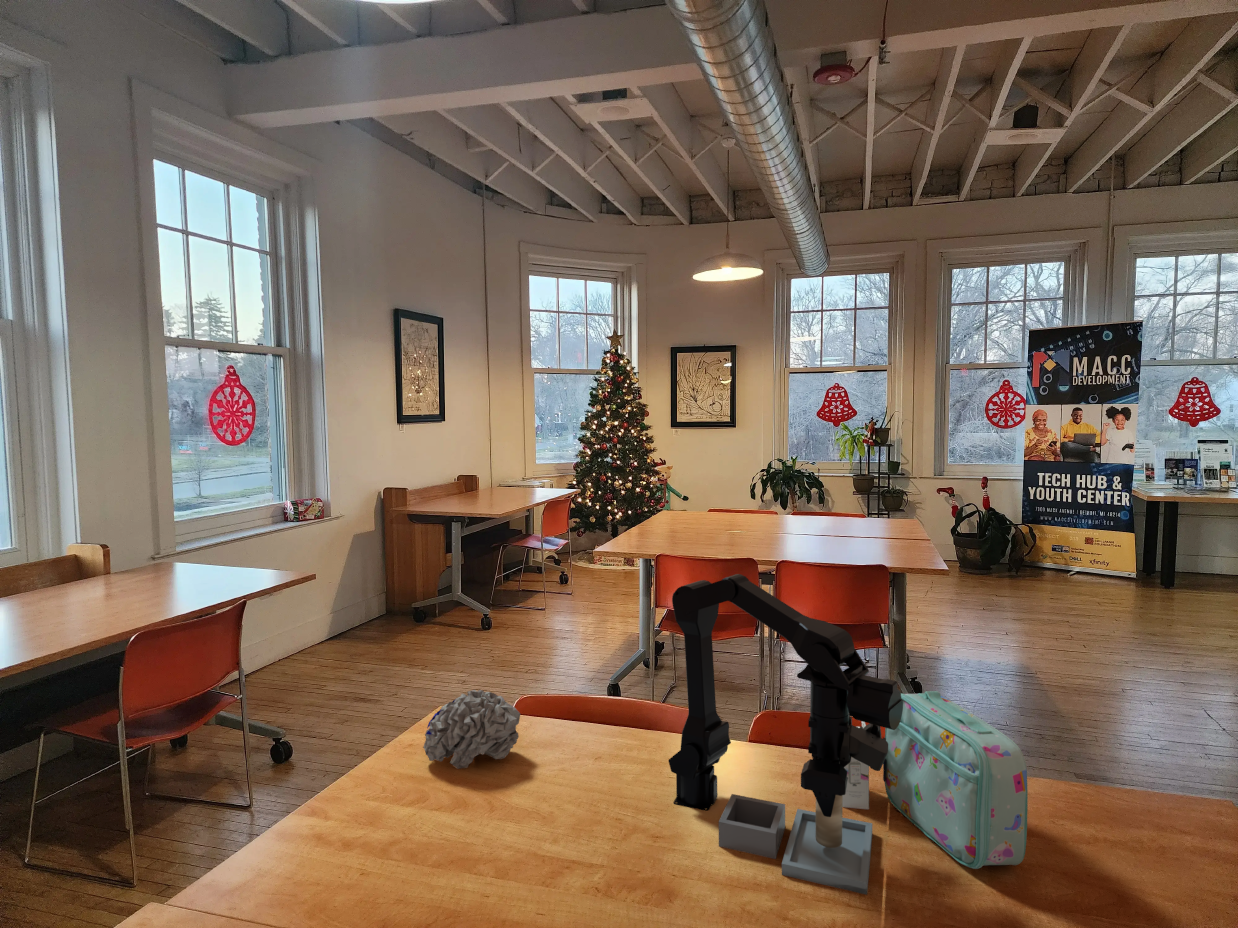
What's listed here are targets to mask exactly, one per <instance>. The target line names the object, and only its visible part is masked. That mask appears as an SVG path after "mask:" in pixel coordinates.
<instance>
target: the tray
mask: <svg viewBox="0 0 1238 928" xmlns="http://www.w3.org/2000/svg"><path fill="white" fill-rule="evenodd" d="M795 813H796V814H795V815H794V816H795V817H794V820H793V822H792V826H791V830H790V834H789V838H788V840H787V844H786V848H785V851H784V854H783V858H782V862H781V876H784V877H785V876H786V877H789V878H793V879H798V880H802V881H807V882H811V883H815V884H819V885H823V886H828V887H831V888H836V889H840V890H845V891H850V892H853V893H858V894H861V895H866V896H868V889H869V888H868V886H869V876H870V867H871V866H870V863H871V853H872V843H873V842H872V841H873V823H872V822H867V821H862V820H858V819H857V820H856V819H852V818H847V817H842V845H841V846H839V847H836V848H829V847H825V846H822V845H820V844H819V843H818V842H817V841H816V811H810V810H806V809H800V808H797V809H796V812H795Z"/></svg>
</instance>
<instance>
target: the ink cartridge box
mask: <svg viewBox="0 0 1238 928" xmlns="http://www.w3.org/2000/svg"><path fill="white" fill-rule="evenodd" d="M866 725H867V724H866V722H863V721H861V727H863V728H864V727H865V726H866ZM857 727H858V728H860V726H857ZM844 768H845V769H846V771H847V777H848V780H847V787H846V793H845V795H843V803H842V808H847V809H848V808H849V809H859V810H860V809H861V810H870V766H868V765H866V764H864V763H862V762H860V761H858V760H856V759H854V758H853V757H851V762H850V763H849V764H848V765H846V766H845V767H844Z"/></svg>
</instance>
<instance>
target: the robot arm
mask: <svg viewBox="0 0 1238 928" xmlns="http://www.w3.org/2000/svg"><path fill="white" fill-rule="evenodd" d="M671 597H672V598H671V602H672V603H671V605H672V608H673V614H674V618H675V621H676V623H677V625H678V626H679V628H680V629H681V631H682V633H683V639H684V640H683V641H684V654H685V657H684V658H685V673H686V674H685V675H686V689H687V690H686V691H687V692H686V693H687V707H688V709H687V710H688V714H687V717H686V721H685V723H684V726H683V729H682V731H681V738H680V739H681V740H680V750H679V751H677V752H676V753H675V754H674V755H673V756H671V757H670V758H669V759H668V765H669V768H670V771H671V773H672V774H675V775H676V778H675V779H676V780H675V781H676V791H675V792H676V795H675V796H676V797H675V798H674V800H673V805H676V806H681V807H686V808H691V809H695V810H701V811H709V810H710V809H711V806H712V805H714V804H715V803H716V801H717V799H718V776H717V775H716V774H715V764H718V763H719V762H720V759H721V757H723V756H724V755H725V754H726V753H727V751H728V746H729V745H731V743H732V742H731V739H730V735H729V733H730V732H729V730H730V723H729V721H727V720H726V721H722V719H721V717H720V715H719V714H718V712H717V705H716V703H717V702H716V701H717V700H716V688H715V687H716V686H715V669H714V665H715V664H714V652H713V651H714V649H713V648H714V647H713V635H712V634H713V629H714V627H715V624H716V622H717V618H718V616H719V608H720V604H721V603H726V602H731V603H732V604H733V605H735V606H736V607H738V608H739V609H740V610H742V611H743V612H745V613H747V614H748V615H749V616H751V617H753V618H754V619H756V620H757V621H758V622H760V623H762V624H763V625H764V626H766V627H768V628H769V629H771V630H772V631H774V632H775V633H777V634H778V635H780V637H783V638H784V639H785V640H786V641H788V642H789V643H790V644H791V646H792V648H793V650H794V651H795V653H796V654H797V655H798V656H799V657H800V659H802V660H803V661H804V662H805V663H807V664H806V666H805V667H804V668H803V669H802V670H801V671H799V672H797V674H796V676H797V678H798V679H800V680H804V681H807V682H808V681H809V682H810V684H809V686H810V689H809V690H810V695H809V697H810V698H809V701H810V702H809V703H810V705H809V707H810V709H809V710H810V712H809V713H810V715H809V718H808V728H809V729H810V730H809V731H810V732H809V735H810V737H809V743H808V747H807V750H808V754H811V757H812V758H809V760H807V761H806V762H804V764H803V766H802V770H801V773H800V787H801V788H802V789H803V790H808V791H811V792H812V793H813V795H814V798H815V801H816V800H817V802H818V804H819V807H820V809H821V811H822V813H823V815H824V816H826V817H831V815H832V810H833V806H834V801H835V796H836V795H839V796H842V795H845V793H846V787H847V780H848V777H847V771H846V769H845V768H844V767H845V766H846V765H848V764H849V763H850V762H851V757H853V758H854V759H856V760H858V761H860V762H862V763H864V764H866V765H868V766H869V769H872V770H873V771H876V772H879V771H880V772H881V769H882V768H883V763H884V760H885V758H886V756H887V754H888V742H887V741H886V738H885V736H884V737H882V729H881V728H888V729H892V730H895V729H896V728H897V727H898V725H899V723H900V720H901V717H902V711H903V700H902V698H901V691H900V690H899V689H898V681H897V680H893V679H889V678H888V679H887V678H879V677H874V676H870V675H867V674H868V673H869V672H870V670H869V669H868V667H867V665H866V664H865V662H864V661H863V659H862V657H861V656H860V654H859V653H858V651H857V650H856V648H855V644H854V641H853V636H852V635H851V634H850V633H849V632H848V631H847V630H846V629H843V628H842V627H840V626H837V625H835V624H833V623H830V622H828V621H825V620H822V619H821V620H820V619H817V618H813V617H809V616H806V615H805V614H802V613H801V612H799V611H798V610H796V609H794V608H793V607H791V606H790V605H788V604H787V603H785V602H784V601H782V600H781V599H779V598H777V597H775V596H774V595H772V594H771V593H769V592H767V590H764V589H763V588H761V587H760V586H759V585H756V584H755V583H754V582H752V581H750V580H749V578H747V576H745V575H743V574H740V573H736V574H733V575H730V576H726V577H724V578H722V579H721V580H719V581H715V582H710V581H708V580H705V579H701V580H697V581H694V582H691V583H688V584H684V585H681V586H679V587H677V588H676V590H675V591H674V592H673V593H672V596H671ZM844 665H846V666H847V668H845V669H844V670H843V669H842V668H841V667H842V666H844ZM853 719H854V720H856V721H859V722H862V721H863V722H865V724H866V723H867V724H866V726H865V727H864V728H863V727H862V725H861V726H856V725H853ZM858 727H860V728H858Z"/></svg>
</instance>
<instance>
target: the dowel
mask: <svg viewBox="0 0 1238 928" xmlns="http://www.w3.org/2000/svg"><path fill="white" fill-rule="evenodd" d="M842 803H843V795H842V796H839V795H836V796H835V801H834V806H833V810H832V815H831V817H826V816H824V815H823V813H822V811H821V809H820V807H819V804H818V802H817V800H816V799H815V812H816V841H817V842H818V843H819V844H820V845H822V846H825V847H829V848H836V847H839V846H841V845H842V818H843V807H842Z"/></svg>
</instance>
